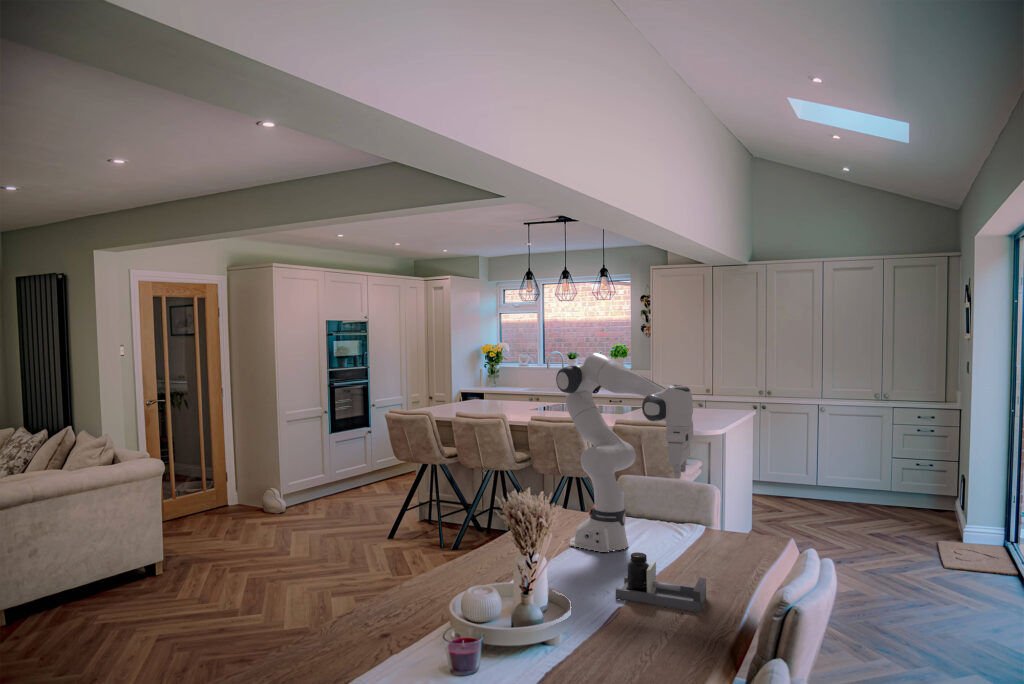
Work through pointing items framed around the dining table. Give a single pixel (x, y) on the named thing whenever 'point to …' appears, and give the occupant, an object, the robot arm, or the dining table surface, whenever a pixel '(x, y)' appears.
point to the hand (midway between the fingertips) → (680, 474)
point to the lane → (668, 596)
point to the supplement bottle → (637, 572)
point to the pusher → (653, 584)
